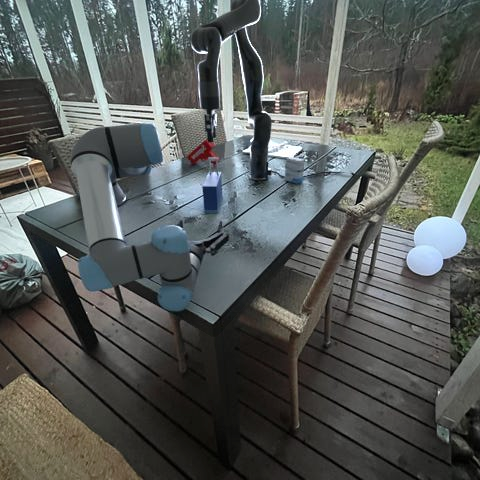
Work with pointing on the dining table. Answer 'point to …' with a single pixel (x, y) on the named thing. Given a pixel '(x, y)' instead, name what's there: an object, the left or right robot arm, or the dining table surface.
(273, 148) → the relief map
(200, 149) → the toy gun
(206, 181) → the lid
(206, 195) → the chest
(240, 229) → the dining table surface
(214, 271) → the dining table surface
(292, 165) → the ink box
